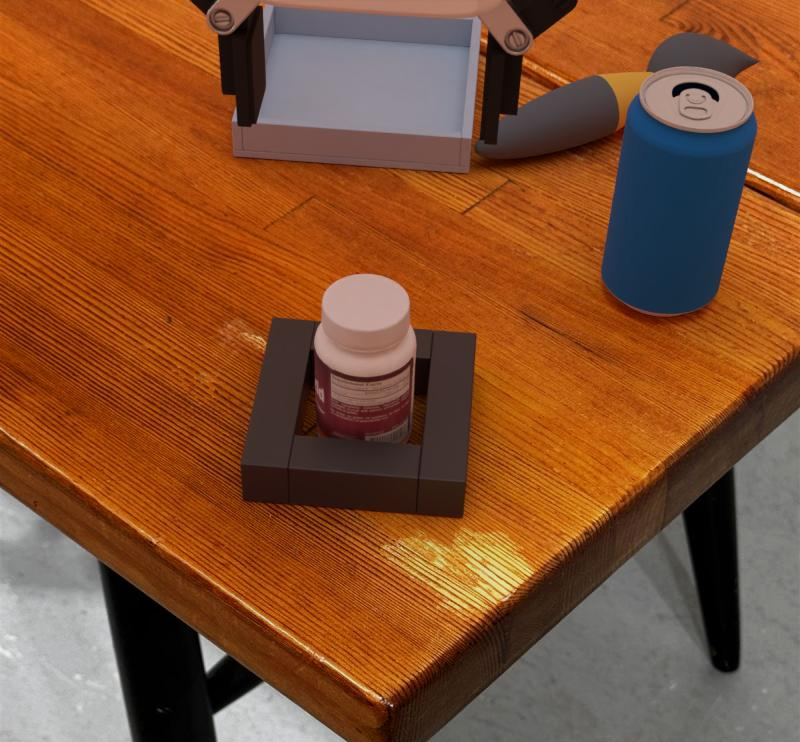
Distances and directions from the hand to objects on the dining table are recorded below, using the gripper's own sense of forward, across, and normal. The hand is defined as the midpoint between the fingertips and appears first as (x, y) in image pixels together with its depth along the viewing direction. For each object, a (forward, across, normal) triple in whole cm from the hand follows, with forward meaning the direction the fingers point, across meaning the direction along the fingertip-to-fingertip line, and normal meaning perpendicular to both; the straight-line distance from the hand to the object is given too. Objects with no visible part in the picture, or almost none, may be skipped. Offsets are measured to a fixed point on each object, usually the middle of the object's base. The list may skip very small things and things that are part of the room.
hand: (370, 116), depth 59 cm
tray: (+18, -3, +30) cm, 35 cm away
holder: (+18, 0, 0) cm, 18 cm away
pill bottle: (+18, 0, 0) cm, 18 cm away
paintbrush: (+18, +13, +28) cm, 36 cm away
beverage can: (+18, +15, +13) cm, 27 cm away
